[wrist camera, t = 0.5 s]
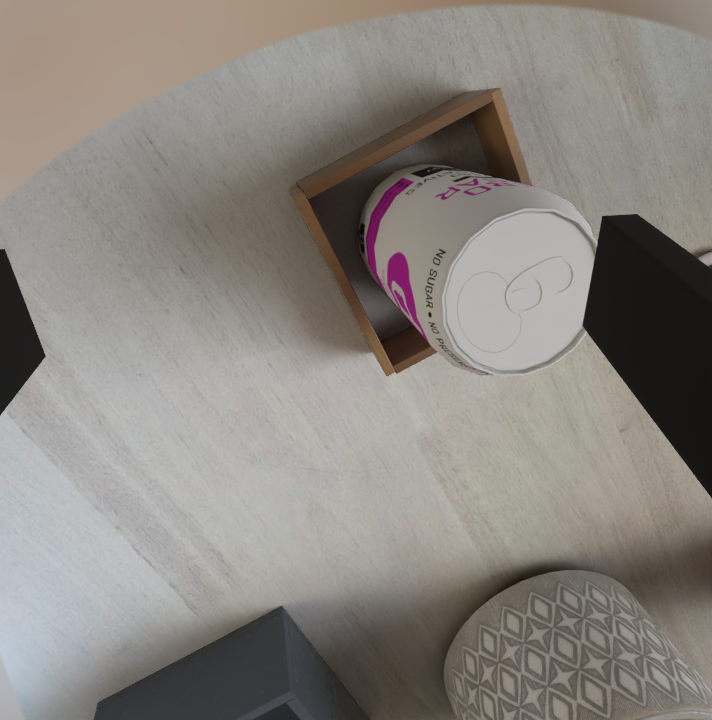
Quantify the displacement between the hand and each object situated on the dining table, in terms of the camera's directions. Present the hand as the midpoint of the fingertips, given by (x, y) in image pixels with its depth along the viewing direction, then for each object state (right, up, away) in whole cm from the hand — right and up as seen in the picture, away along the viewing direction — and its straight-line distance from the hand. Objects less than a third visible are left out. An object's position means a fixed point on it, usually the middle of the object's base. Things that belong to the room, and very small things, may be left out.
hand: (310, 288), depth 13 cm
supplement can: (+5, +7, +24) cm, 25 cm away
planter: (+17, -27, +40) cm, 51 cm away
